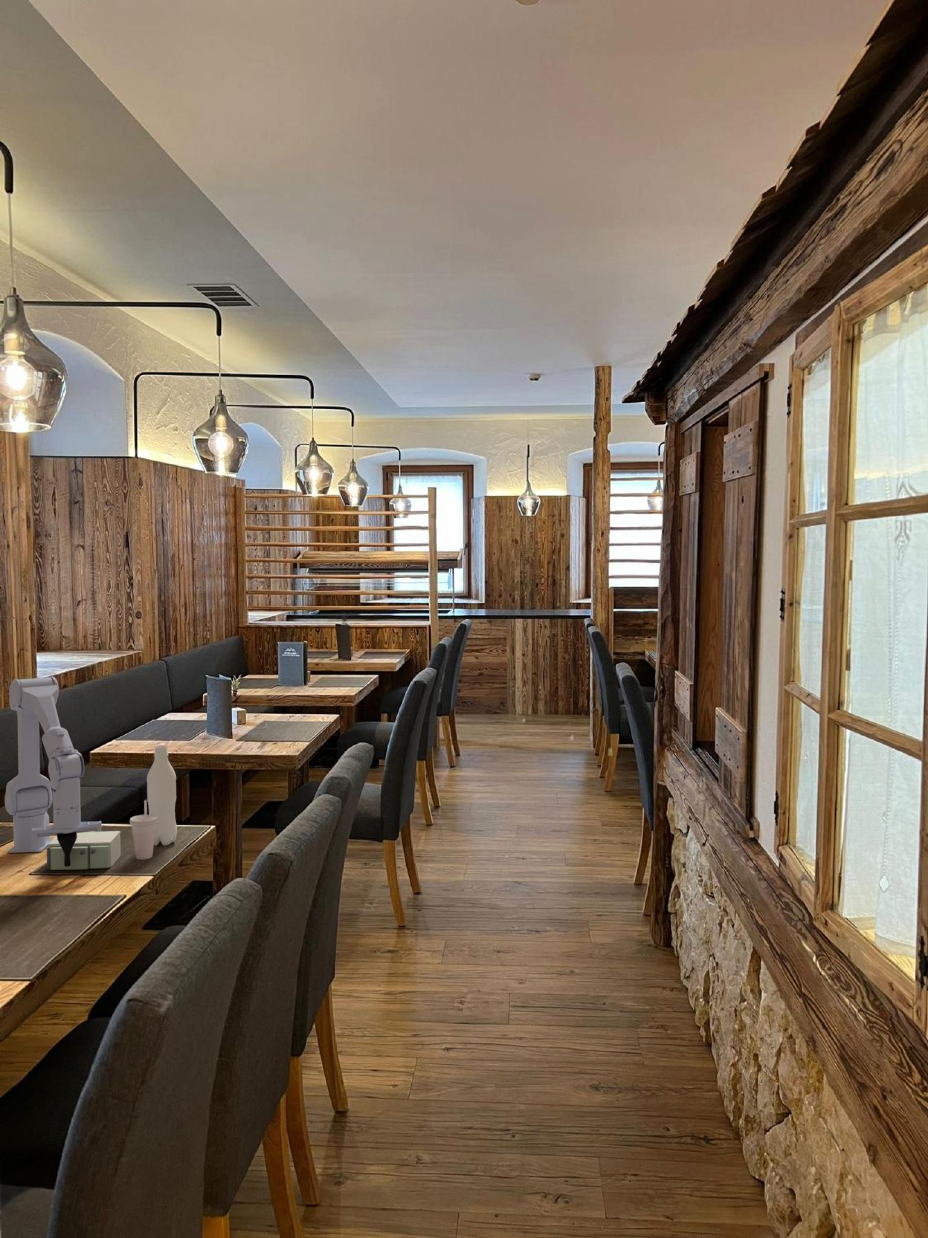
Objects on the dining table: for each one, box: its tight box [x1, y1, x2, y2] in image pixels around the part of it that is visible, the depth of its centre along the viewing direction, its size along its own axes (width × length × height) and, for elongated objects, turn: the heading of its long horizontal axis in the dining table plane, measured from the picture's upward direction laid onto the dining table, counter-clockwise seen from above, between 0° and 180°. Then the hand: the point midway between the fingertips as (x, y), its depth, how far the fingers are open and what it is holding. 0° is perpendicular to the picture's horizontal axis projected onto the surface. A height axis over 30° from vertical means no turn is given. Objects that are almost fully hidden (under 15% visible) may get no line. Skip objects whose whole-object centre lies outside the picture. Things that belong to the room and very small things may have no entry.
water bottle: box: [146, 744, 178, 846], centre depth 230 cm, size 7×7×25 cm
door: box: [46, 846, 90, 871], centre depth 209 cm, size 2×9×5 cm, turn 94°
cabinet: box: [47, 830, 122, 869], centre depth 215 cm, size 11×14×6 cm
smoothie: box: [129, 799, 158, 860], centre depth 220 cm, size 6×6×14 cm
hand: (67, 865), depth 208 cm, fingers closed, pressing on door
